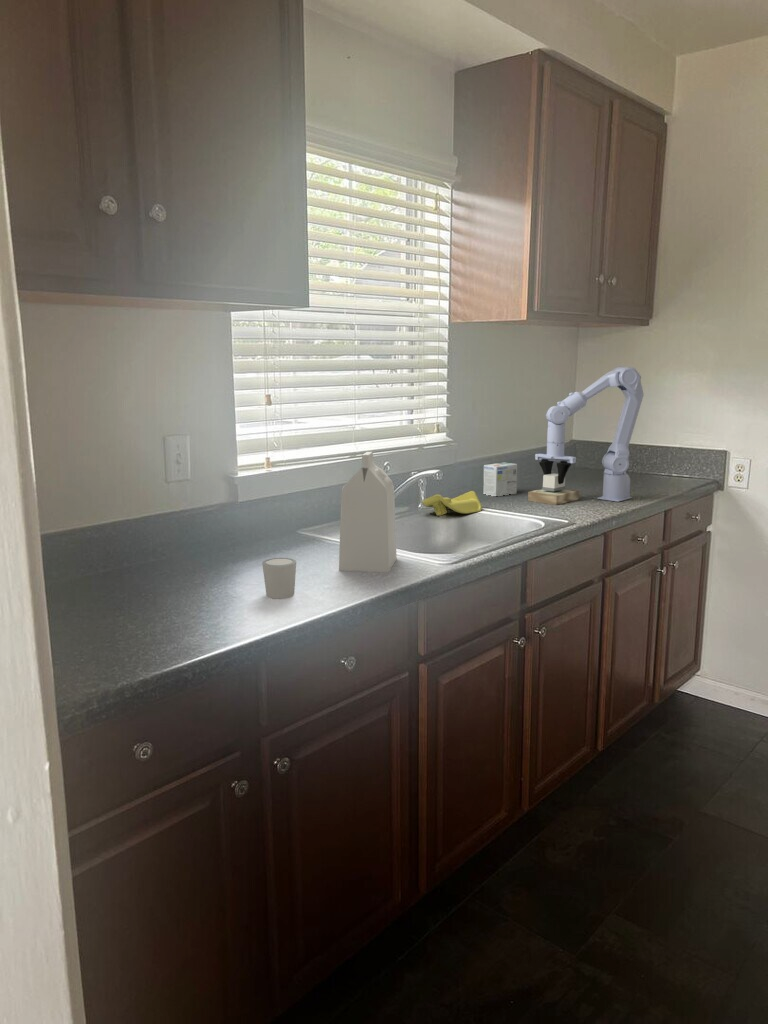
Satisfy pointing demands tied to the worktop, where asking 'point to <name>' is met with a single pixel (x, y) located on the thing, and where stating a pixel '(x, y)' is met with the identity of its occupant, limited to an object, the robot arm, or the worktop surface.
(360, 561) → the milk
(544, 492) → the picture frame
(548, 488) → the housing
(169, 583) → the worktop surface
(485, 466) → the light bulb box
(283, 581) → the shot glass
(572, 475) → the worktop surface
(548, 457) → the robot arm
